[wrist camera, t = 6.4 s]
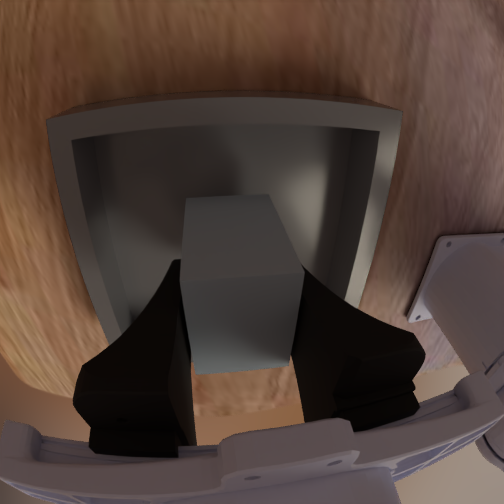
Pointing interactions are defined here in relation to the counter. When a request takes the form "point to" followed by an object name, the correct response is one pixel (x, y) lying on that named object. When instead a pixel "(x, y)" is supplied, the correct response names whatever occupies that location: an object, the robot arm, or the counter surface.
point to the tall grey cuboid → (238, 284)
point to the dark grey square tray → (219, 182)
